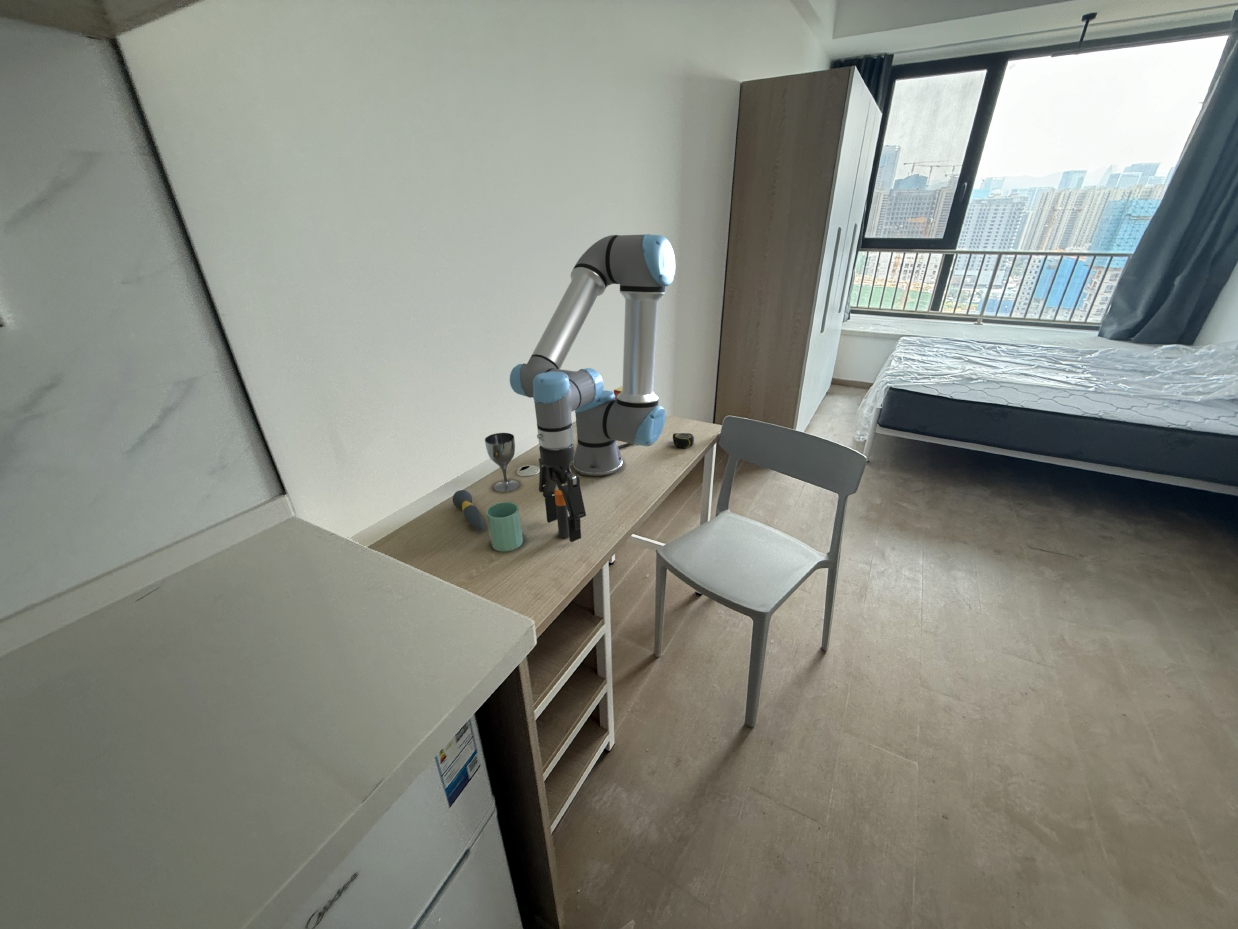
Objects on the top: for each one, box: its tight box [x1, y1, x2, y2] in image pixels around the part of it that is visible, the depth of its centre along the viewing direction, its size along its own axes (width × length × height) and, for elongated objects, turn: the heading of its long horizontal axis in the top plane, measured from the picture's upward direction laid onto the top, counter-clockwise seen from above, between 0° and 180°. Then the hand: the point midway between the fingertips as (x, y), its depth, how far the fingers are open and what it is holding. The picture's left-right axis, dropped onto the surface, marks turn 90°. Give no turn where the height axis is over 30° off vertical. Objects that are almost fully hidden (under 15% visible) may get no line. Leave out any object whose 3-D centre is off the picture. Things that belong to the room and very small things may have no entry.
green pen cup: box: [485, 501, 524, 552], centre depth 112 cm, size 7×7×9 cm
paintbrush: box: [451, 489, 485, 531], centre depth 124 cm, size 20×5×5 cm, turn 38°
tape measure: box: [672, 432, 695, 449], centre depth 161 cm, size 7×7×4 cm
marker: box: [554, 489, 569, 539], centre depth 114 cm, size 3×3×12 cm
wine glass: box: [484, 432, 520, 493], centre depth 136 cm, size 8×8×15 cm
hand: (563, 529), depth 116 cm, fingers open, 10 cm apart
